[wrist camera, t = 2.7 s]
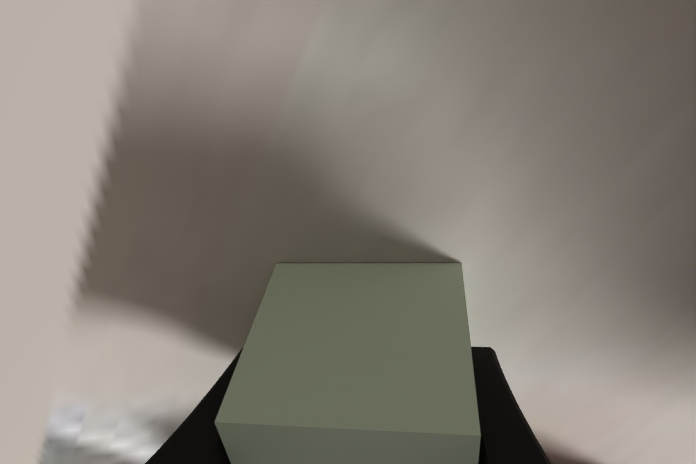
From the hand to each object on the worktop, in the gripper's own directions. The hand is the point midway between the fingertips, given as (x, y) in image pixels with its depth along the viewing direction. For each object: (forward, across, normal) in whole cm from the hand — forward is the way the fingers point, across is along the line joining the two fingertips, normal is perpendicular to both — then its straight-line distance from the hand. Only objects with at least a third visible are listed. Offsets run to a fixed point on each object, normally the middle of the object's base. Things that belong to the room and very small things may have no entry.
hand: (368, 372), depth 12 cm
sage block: (+1, 0, 0) cm, 1 cm away
